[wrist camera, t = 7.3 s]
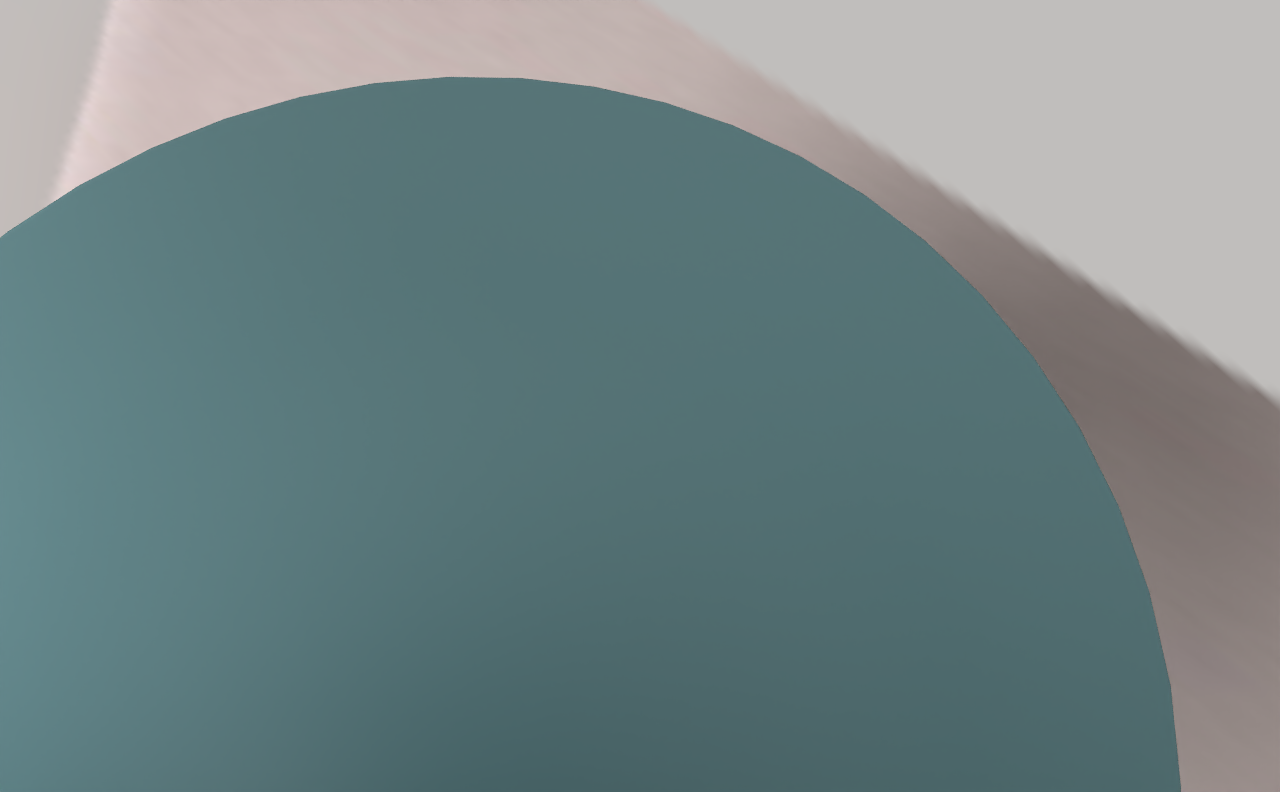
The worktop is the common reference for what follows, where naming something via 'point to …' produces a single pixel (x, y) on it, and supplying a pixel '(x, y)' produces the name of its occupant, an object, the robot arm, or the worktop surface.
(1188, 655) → the worktop surface
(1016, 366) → the peg
